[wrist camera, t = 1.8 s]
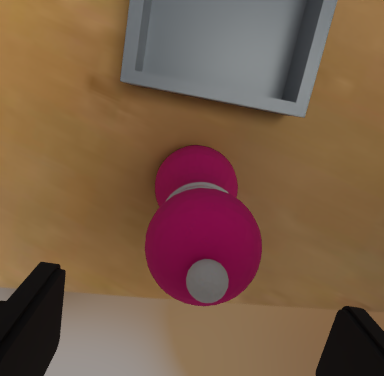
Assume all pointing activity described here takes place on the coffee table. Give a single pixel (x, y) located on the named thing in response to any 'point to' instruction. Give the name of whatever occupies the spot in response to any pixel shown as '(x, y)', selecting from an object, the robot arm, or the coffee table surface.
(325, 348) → the robot arm
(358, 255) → the coffee table surface
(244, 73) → the bin
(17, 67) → the coffee table surface
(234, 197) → the pepper mill
